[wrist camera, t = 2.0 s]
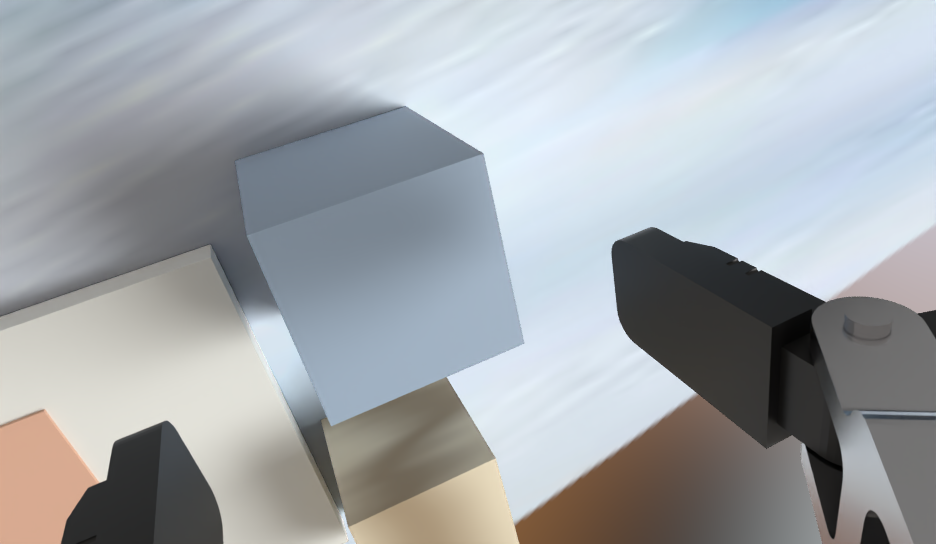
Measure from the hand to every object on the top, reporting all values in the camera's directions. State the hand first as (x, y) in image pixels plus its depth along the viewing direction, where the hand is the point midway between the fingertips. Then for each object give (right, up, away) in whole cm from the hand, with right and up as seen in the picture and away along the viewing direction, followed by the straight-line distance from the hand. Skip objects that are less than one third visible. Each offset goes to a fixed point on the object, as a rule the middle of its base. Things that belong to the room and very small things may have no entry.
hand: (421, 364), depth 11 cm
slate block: (-3, +3, +8) cm, 9 cm away
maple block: (-2, -5, +12) cm, 13 cm away
